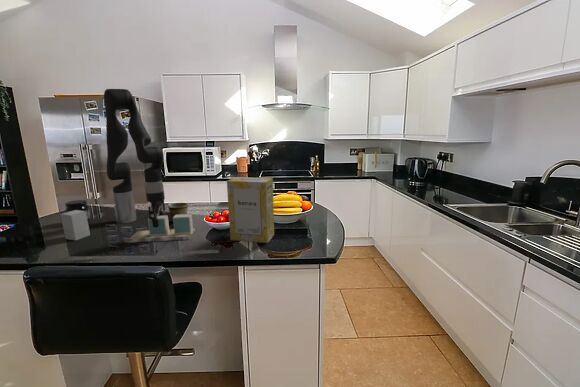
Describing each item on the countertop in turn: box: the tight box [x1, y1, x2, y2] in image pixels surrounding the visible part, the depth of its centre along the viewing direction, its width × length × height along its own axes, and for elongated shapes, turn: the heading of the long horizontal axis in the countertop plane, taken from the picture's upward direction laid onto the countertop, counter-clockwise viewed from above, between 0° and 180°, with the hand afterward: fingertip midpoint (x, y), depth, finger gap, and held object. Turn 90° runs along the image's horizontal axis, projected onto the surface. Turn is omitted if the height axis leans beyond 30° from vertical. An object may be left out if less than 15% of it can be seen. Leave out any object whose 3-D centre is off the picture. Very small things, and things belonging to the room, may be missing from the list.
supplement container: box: [65, 199, 92, 223], centre depth 157 cm, size 10×10×12 cm
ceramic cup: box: [168, 202, 189, 221], centre depth 156 cm, size 13×10×10 cm
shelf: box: [123, 227, 197, 244], centre depth 133 cm, size 28×15×3 cm, turn 96°
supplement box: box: [59, 210, 91, 241], centre depth 135 cm, size 7×7×13 cm
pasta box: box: [226, 176, 275, 244], centre depth 130 cm, size 18×10×28 cm, turn 77°
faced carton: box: [172, 213, 194, 236], centre depth 134 cm, size 8×5×9 cm, turn 96°
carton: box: [147, 214, 170, 237], centre depth 132 cm, size 8×5×9 cm, turn 96°
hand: (158, 224), depth 132 cm, fingers open, 8 cm apart
